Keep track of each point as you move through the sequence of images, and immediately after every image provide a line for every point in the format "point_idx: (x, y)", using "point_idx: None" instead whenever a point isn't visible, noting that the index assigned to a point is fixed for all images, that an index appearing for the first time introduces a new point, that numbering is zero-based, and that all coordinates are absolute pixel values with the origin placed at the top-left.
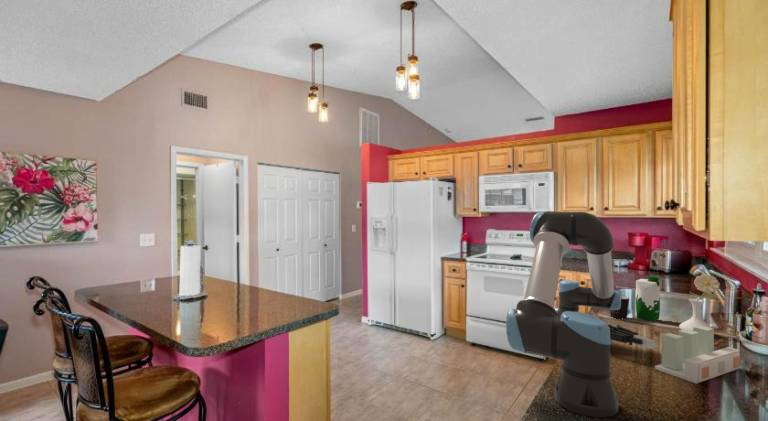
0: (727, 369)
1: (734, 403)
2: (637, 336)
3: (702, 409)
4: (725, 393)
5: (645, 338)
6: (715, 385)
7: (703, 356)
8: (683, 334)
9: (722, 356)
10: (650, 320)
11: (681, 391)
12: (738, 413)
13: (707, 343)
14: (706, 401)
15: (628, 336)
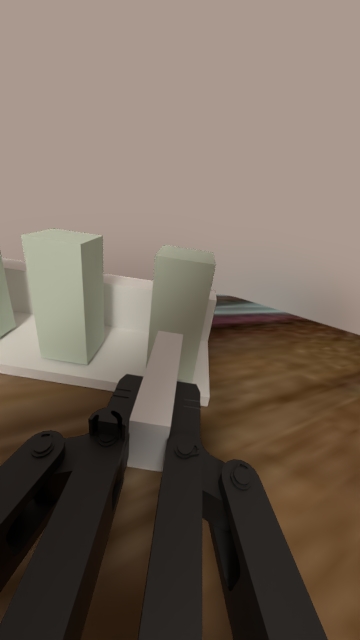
0: None
1: (228, 306)
2: (166, 399)
3: (301, 322)
4: None
5: (164, 361)
6: None
7: (138, 285)
8: (91, 251)
9: None
10: None
11: (277, 343)
12: (256, 304)
13: (2, 271)
14: (267, 322)
15: (199, 466)
